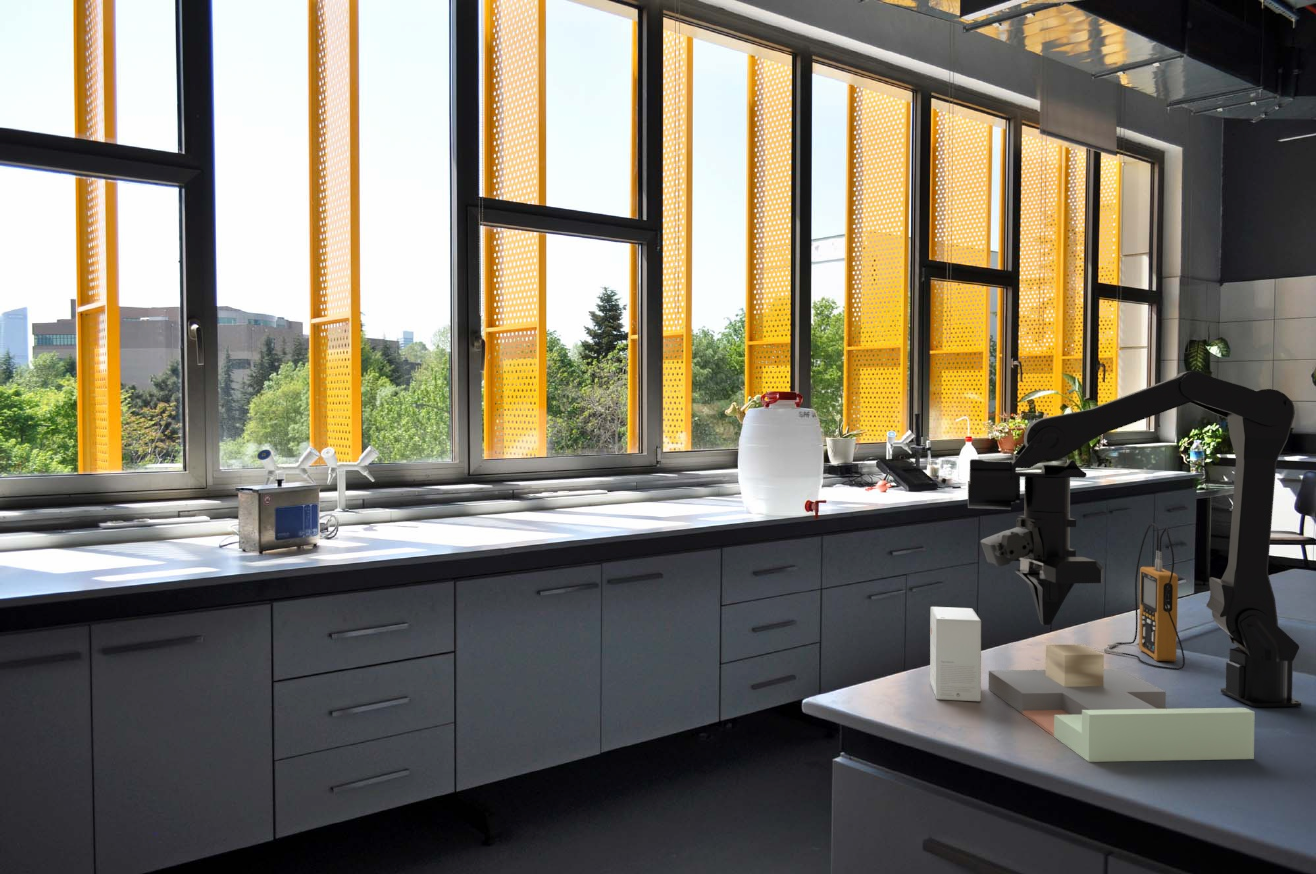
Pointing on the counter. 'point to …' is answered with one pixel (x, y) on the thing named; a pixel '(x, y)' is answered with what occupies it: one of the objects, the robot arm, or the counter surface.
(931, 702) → the counter surface
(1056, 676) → the birch block
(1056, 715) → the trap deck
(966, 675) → the small box
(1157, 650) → the multimeter
